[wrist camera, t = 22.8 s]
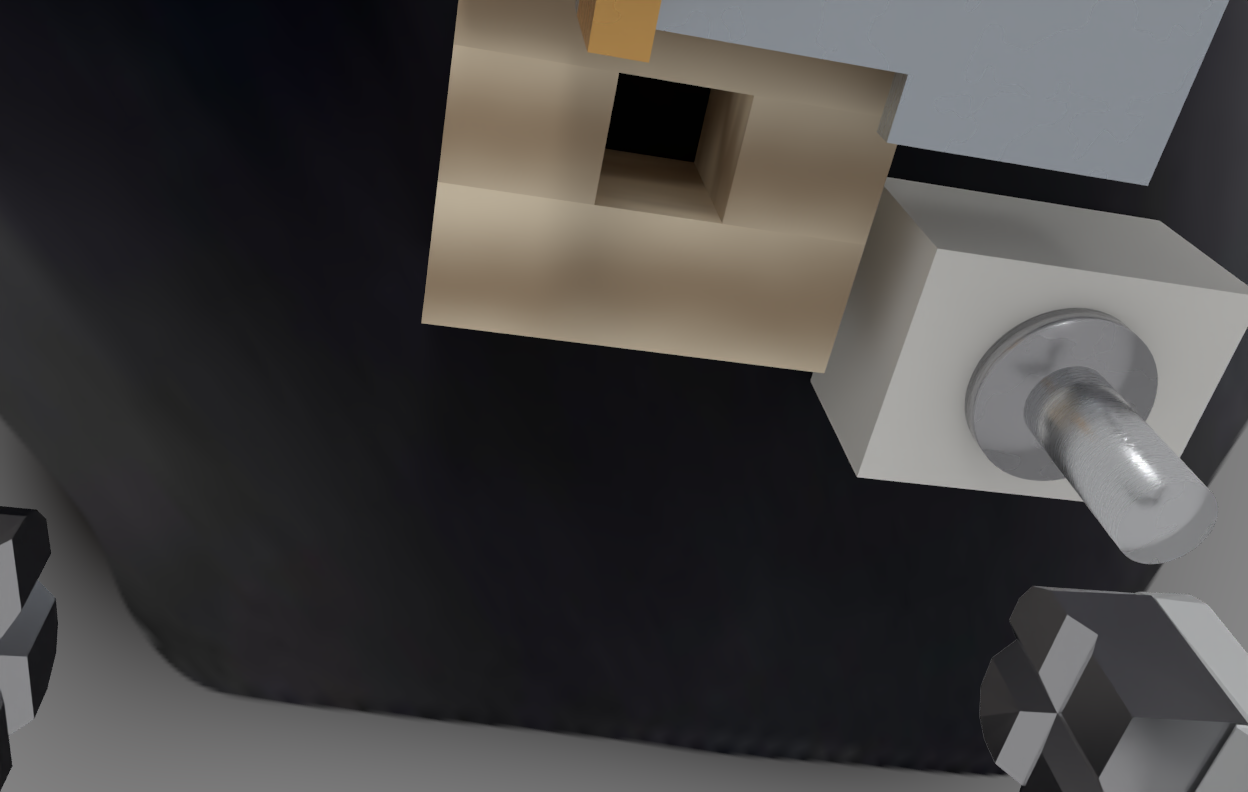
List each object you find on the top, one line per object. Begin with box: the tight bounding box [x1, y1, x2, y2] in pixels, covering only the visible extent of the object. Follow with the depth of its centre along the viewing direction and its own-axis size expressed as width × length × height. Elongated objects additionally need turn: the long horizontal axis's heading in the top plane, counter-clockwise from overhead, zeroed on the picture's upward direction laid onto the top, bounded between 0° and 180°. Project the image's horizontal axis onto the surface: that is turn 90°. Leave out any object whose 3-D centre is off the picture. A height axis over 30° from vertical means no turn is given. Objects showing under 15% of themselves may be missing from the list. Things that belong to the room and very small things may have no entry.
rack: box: [811, 177, 1248, 502], centre depth 43 cm, size 9×12×7 cm
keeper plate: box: [575, 0, 1229, 186], centre depth 30 cm, size 18×7×5 cm, turn 79°
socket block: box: [422, 0, 897, 373], centre depth 37 cm, size 14×14×7 cm
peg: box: [965, 308, 1218, 564], centre depth 39 cm, size 6×6×14 cm
